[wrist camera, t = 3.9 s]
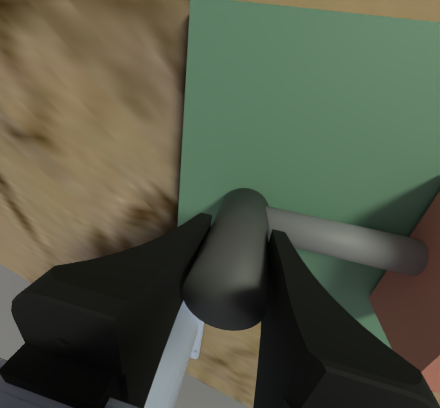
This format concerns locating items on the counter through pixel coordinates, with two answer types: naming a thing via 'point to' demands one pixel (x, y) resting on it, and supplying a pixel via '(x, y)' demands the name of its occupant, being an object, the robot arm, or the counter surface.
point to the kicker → (330, 246)
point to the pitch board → (314, 123)
